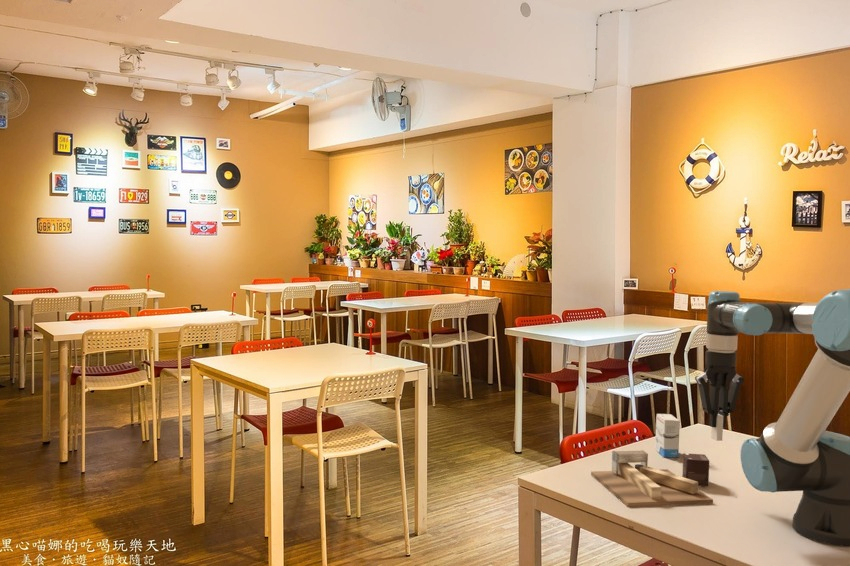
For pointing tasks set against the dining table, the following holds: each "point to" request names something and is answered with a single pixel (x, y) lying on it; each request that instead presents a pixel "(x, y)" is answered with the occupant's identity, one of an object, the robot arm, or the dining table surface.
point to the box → (696, 468)
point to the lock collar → (628, 458)
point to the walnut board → (637, 498)
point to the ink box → (667, 435)
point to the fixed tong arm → (640, 480)
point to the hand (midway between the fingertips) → (716, 439)
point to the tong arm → (669, 479)
